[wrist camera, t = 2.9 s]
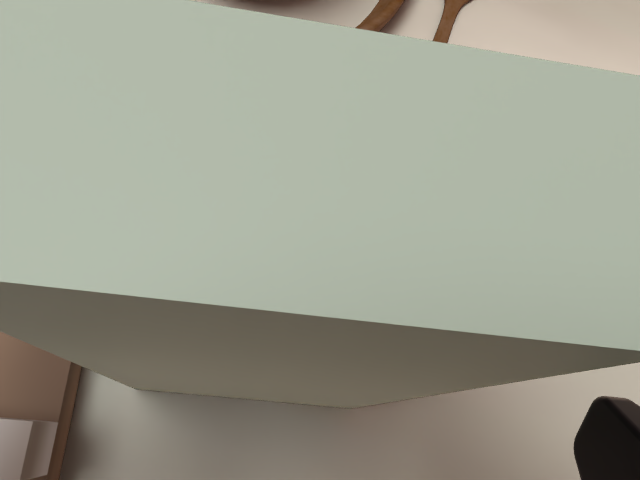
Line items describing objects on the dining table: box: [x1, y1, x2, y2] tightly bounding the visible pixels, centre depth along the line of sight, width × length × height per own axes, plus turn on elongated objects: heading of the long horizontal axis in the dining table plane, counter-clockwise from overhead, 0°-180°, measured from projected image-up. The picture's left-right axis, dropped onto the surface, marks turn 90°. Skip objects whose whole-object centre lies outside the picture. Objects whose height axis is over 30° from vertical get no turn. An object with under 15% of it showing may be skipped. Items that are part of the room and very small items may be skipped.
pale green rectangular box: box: [0, 0, 640, 409], centre depth 11 cm, size 6×2×13 cm, turn 85°
